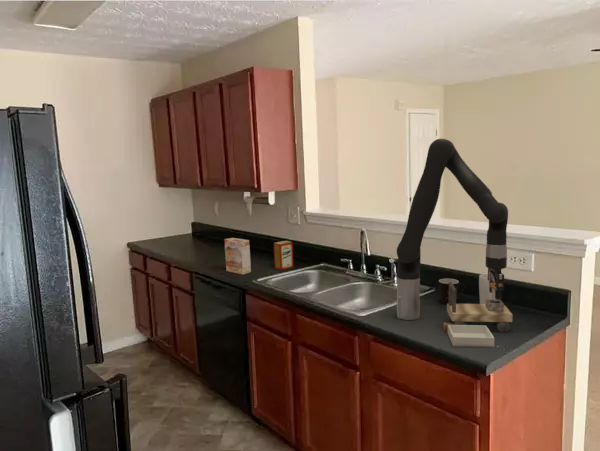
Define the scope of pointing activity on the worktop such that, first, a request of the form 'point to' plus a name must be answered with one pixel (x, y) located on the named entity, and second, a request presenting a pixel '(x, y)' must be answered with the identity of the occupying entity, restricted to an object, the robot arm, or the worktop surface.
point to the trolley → (478, 312)
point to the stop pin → (493, 293)
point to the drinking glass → (484, 288)
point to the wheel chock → (446, 326)
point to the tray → (470, 336)
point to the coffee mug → (445, 289)
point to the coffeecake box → (237, 255)
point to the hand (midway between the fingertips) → (495, 295)
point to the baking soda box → (283, 255)
